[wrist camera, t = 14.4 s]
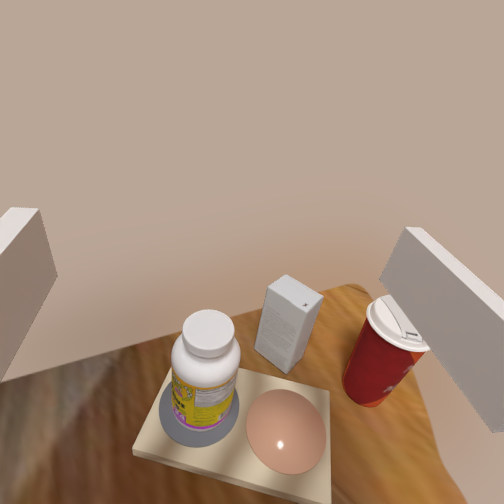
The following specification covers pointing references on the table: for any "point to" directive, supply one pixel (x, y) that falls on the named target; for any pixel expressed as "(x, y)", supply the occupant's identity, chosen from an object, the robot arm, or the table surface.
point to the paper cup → (382, 353)
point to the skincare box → (286, 322)
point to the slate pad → (189, 436)
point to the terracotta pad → (286, 431)
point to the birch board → (243, 446)
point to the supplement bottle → (204, 370)
